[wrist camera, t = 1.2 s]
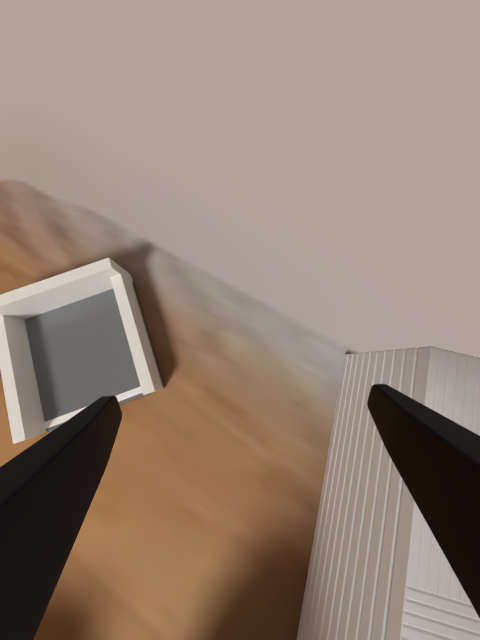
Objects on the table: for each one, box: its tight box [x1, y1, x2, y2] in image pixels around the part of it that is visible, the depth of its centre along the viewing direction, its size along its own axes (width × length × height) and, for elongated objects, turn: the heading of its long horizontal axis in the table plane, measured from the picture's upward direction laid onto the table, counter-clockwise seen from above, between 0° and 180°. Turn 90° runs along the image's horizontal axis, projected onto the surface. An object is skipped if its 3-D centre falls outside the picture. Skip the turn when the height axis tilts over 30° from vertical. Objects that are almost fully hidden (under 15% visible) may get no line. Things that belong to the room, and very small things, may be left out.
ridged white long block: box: [297, 347, 480, 640], centre depth 14 cm, size 32×11×11 cm, turn 166°
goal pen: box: [0, 258, 164, 444], centre depth 21 cm, size 12×12×4 cm
